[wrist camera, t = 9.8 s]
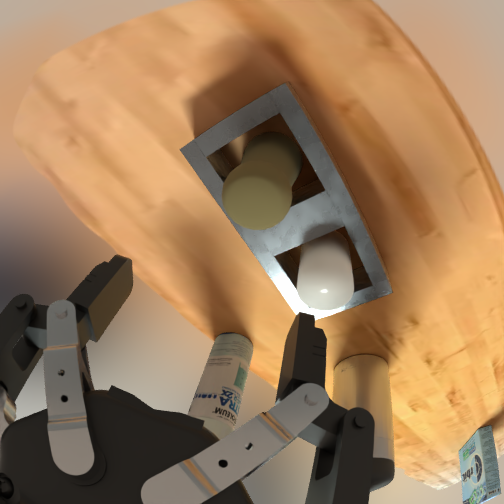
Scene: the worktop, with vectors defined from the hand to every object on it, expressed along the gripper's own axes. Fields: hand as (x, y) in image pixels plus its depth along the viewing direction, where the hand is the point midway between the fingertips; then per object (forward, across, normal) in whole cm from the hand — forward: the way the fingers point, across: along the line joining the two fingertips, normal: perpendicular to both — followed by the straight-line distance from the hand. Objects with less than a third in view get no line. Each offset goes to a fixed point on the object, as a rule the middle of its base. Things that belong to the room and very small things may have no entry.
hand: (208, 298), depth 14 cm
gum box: (+21, -79, +55) cm, 98 cm away
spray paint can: (+21, -1, +29) cm, 36 cm away
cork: (+20, 0, 0) cm, 20 cm away
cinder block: (+20, -4, +4) cm, 21 cm away
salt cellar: (+20, -8, +8) cm, 23 cm away
